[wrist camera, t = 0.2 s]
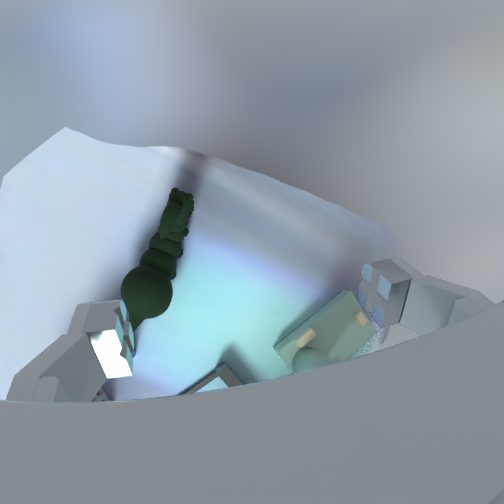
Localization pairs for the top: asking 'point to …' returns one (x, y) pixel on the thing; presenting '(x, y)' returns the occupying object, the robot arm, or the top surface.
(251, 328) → the top surface
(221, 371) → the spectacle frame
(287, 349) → the flanged cylinder mount
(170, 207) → the toy figurine
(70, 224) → the top surface
